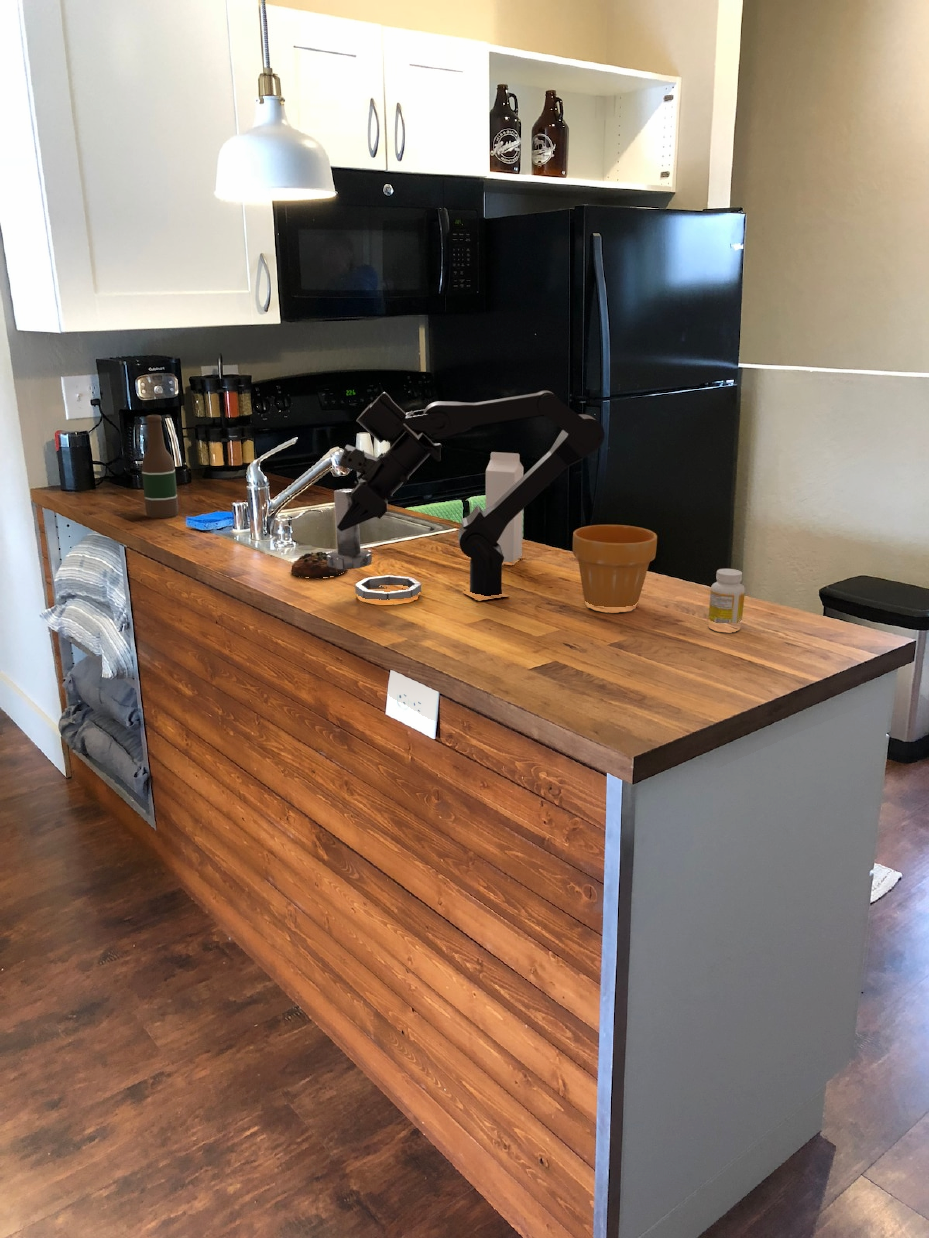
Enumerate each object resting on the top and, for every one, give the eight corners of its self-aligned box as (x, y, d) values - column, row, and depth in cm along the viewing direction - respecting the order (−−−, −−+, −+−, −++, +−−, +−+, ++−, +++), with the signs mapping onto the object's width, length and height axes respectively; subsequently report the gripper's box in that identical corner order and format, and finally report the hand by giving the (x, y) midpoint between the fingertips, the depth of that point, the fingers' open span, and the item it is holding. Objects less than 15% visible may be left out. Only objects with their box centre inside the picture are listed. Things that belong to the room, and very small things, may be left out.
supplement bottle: (718, 635, 161) (723, 577, 158) (701, 625, 166) (705, 568, 163) (748, 632, 163) (753, 574, 160) (730, 622, 167) (735, 566, 164)
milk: (513, 566, 201) (515, 456, 194) (484, 563, 203) (485, 454, 196) (521, 559, 206) (524, 451, 199) (493, 556, 208) (495, 449, 201)
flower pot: (656, 598, 180) (661, 527, 176) (648, 622, 167) (653, 546, 163) (577, 592, 184) (580, 522, 180) (564, 615, 171) (566, 540, 167)
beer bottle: (139, 517, 243) (129, 416, 236) (157, 511, 250) (148, 413, 243) (167, 519, 241) (158, 418, 234) (185, 513, 248) (176, 414, 241)
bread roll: (309, 582, 189) (307, 556, 188) (280, 578, 198) (278, 553, 197) (359, 575, 196) (357, 549, 195) (329, 571, 205) (327, 546, 204)
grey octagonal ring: (429, 600, 179) (429, 588, 178) (369, 608, 174) (369, 596, 173) (405, 584, 188) (405, 573, 187) (348, 592, 184) (348, 579, 183)
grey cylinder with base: (378, 566, 177) (374, 492, 173) (335, 572, 174) (330, 497, 170) (363, 556, 183) (359, 485, 179) (322, 561, 180) (317, 489, 176)
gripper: (367, 422, 180) (309, 485, 183) (362, 436, 163) (298, 506, 166) (413, 464, 183) (355, 526, 186) (413, 483, 165) (349, 551, 168)
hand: (339, 526), depth 176 cm, fingers closed on grey cylinder with base, 4 cm apart
